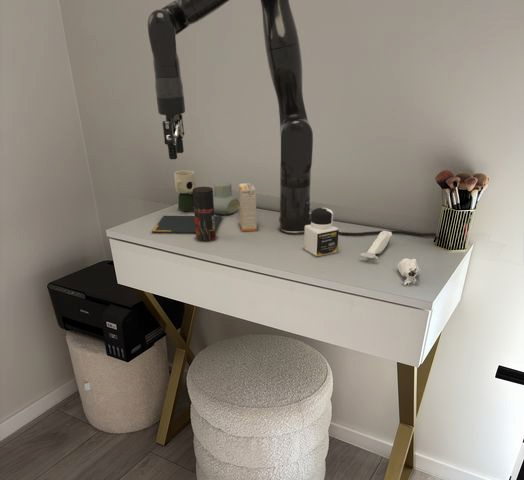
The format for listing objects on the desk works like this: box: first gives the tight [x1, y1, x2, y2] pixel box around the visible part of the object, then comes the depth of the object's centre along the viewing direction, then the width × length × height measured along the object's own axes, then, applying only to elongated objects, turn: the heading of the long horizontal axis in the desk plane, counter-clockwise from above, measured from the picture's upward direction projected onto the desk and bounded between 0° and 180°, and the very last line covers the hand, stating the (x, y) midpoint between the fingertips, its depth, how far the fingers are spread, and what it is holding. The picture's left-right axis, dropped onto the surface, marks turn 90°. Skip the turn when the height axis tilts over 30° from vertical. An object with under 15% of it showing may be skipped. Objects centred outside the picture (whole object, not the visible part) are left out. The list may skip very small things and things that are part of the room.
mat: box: [151, 215, 223, 235], centre depth 175 cm, size 20×16×1 cm
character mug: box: [173, 169, 197, 212], centre depth 185 cm, size 11×7×13 cm, turn 155°
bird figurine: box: [396, 257, 421, 286], centre depth 136 cm, size 5×7×10 cm
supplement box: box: [238, 182, 258, 232], centre depth 169 cm, size 8×5×13 cm, turn 8°
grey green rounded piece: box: [213, 180, 240, 216], centre depth 183 cm, size 11×8×10 cm
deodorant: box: [193, 186, 217, 243], centre depth 160 cm, size 6×6×15 cm
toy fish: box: [358, 230, 393, 259], centre depth 151 cm, size 6×18×4 cm, turn 152°
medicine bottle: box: [303, 207, 340, 257], centre depth 151 cm, size 7×7×12 cm
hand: (176, 155), depth 156 cm, fingers open, 8 cm apart
